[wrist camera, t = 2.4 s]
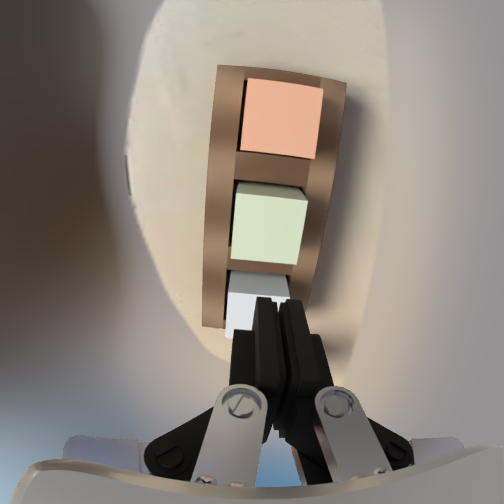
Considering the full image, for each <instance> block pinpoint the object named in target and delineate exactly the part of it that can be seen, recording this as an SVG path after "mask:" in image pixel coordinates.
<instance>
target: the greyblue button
mask: <svg viewBox="0 0 504 504" xmlns="http://www.w3.org/2000/svg"><path fill="white" fill-rule="evenodd" d="M257 296H258V297H270V298H272V302H277V307H278V311H279V306H280V303H281V302H285V301H286V299H290V295H289V290H288V285H287V280H286V275H284V274H273V273H261V272H250V271H239V270H231V274H230V282H229V289H228V301H227V316H226V331H225V338H232V339H233V332H234V329H242V330H252V324H253V317H254V310H255V304H256V298H257Z"/></svg>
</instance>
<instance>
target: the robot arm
mask: <svg viewBox="0 0 504 504" xmlns="http://www.w3.org/2000/svg"><path fill="white" fill-rule="evenodd" d="M272 424H273V427H274V430H279V438H285V441H286V442H287V443H289V444H290V445H291V446H292V447H291V448H292V454H293V458H294V461H295V465H296V468H297V472H298V475H299V479H300V482H301V486H292V487H255V481H256V475H257V470H258V464H259V458H260V452H261V446H262V444H263V443H265V442H266V441H267V438H268V435H269V433H270V430H271V427H272ZM9 504H504V447H502V446H499V445H476V446H471V447H467V448H464V446H463V444H462V443H461V441H459V440H458V439H457V438H454V437H445V438H425V439H411V440H410V441H407V440H406V439H404V438H403V437H401V436H399V435H398V434H396V433H394V432H392V431H390V430H389V429H387V428H385V427H383V426H382V425H380V424H378V423H376V422H375V421H373V420H371V419H369V418H368V417H367V416H366V414H365V412H364V410H363V408H362V406H361V405H360V402H359V400H358V399H357V397H356V396H355V395H354V394H353V393H352V392H351V391H350V390H347V389H345V388H343V387H338V386H334V384H333V380H332V376H331V373H330V369H329V366H328V362H327V358H326V355H325V351H324V348H323V344H322V341H321V338H320V335H318V334H310V331H309V327H308V324H307V320H306V316H305V312H304V308H303V304H302V301H301V300H295V299H286V301H285V302H281V303H280V306H279V311H278V307H277V302H272V298H270V297H258V296H257V298H256V304H255V310H254V317H253V324H252V330H242V329H234V332H233V342H232V353H231V365H230V379H229V386H228V387H226V388H224V389H223V390H222V391H221V392H220V393H219V395H218V397H217V399H216V402H215V405H214V407H212V408H210V409H209V410H207V411H205V412H204V413H202V414H200V415H199V416H197V417H195V418H193V419H192V420H190V421H188V422H186V423H185V424H183V425H181V426H179V427H177V428H176V429H174V430H172V431H170V432H168V433H166V434H165V435H163V436H160V437H159V438H157V439H155V440H153V441H152V442H139V441H138V440H132V439H131V440H130V439H114V438H103V437H94V436H84V435H76V436H73V437H71V438H69V439H68V440H67V441H66V443H65V445H64V448H63V455H62V459H50V460H43V461H39V462H36V463H34V464H33V465H32V466H30V467H29V468H28V469H27V470H26V471H25V473H24V474H23V476H22V477H21V479H20V480H19V482H18V484H17V486H16V488H15V491H14V493H13V495H12V498H11V500H10V503H9Z"/></svg>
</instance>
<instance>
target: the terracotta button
mask: <svg viewBox="0 0 504 504" xmlns="http://www.w3.org/2000/svg"><path fill="white" fill-rule="evenodd" d="M322 98H323V89H321V88H316V87H311V86H305V85H299V84H293V83H286V82H279V81H271V80H262V79H252V78H248V83H247V92H246V101H245V110H244V119H243V128H242V138H241V148H240V150H246V151H256V152H266V153H274V154H282V155H290V156H297V157H304V158H311V159H315V152H316V145H317V138H318V131H319V123H320V115H321V107H322Z"/></svg>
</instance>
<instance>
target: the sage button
mask: <svg viewBox="0 0 504 504" xmlns="http://www.w3.org/2000/svg"><path fill="white" fill-rule="evenodd" d="M307 204H308V200H307V199H306V198H305V196H304V195H303V193H302V192H301V191H300V189H299V188H298V187H291V186H283V185H274V184H265V183H256V182H246V181H239V183H238V188H237V192H236V201H235V212H234V224H233V236H232V248H231V259H240V260H251V261H262V262H273V263H284V264H295V265H297V260H298V254H299V249H300V244H301V238H302V233H303V227H304V222H305V216H306V210H307Z"/></svg>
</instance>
